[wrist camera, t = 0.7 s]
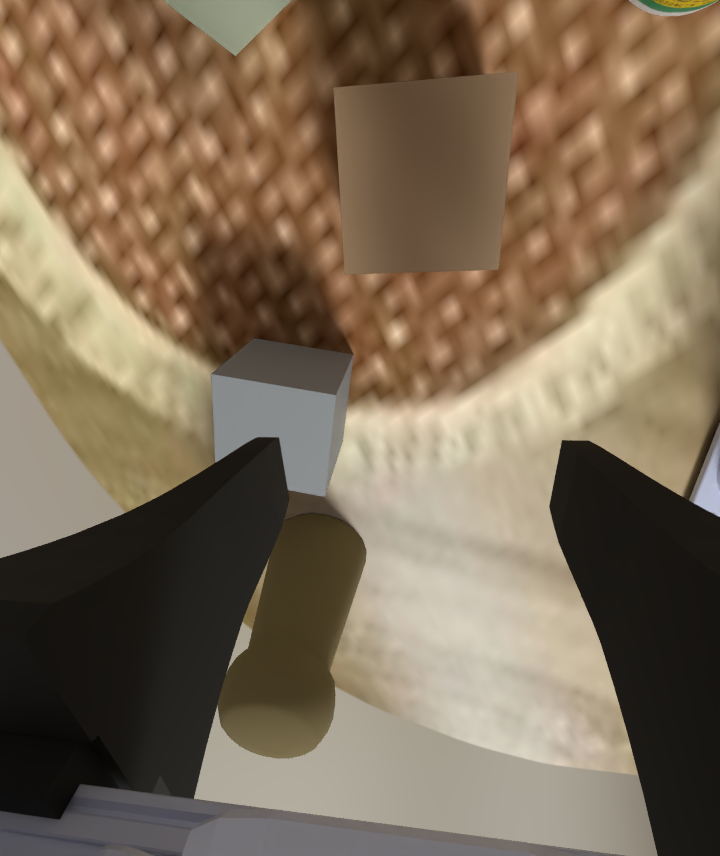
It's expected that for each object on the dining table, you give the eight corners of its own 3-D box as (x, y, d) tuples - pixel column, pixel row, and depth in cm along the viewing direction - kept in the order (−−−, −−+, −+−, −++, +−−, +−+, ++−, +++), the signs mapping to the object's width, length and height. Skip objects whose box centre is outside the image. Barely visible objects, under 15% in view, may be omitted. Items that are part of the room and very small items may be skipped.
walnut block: (491, 105, 16) (518, 71, 11) (479, 251, 18) (498, 269, 14) (356, 115, 16) (333, 87, 12) (362, 255, 19) (344, 274, 14)
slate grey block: (353, 353, 21) (335, 395, 17) (342, 440, 23) (325, 496, 19) (254, 337, 21) (211, 374, 17) (253, 425, 24) (216, 477, 19)
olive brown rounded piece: (256, 527, 27) (167, 709, 18) (341, 502, 25) (294, 690, 16) (300, 591, 29) (243, 782, 20) (381, 573, 28) (361, 773, 18)
